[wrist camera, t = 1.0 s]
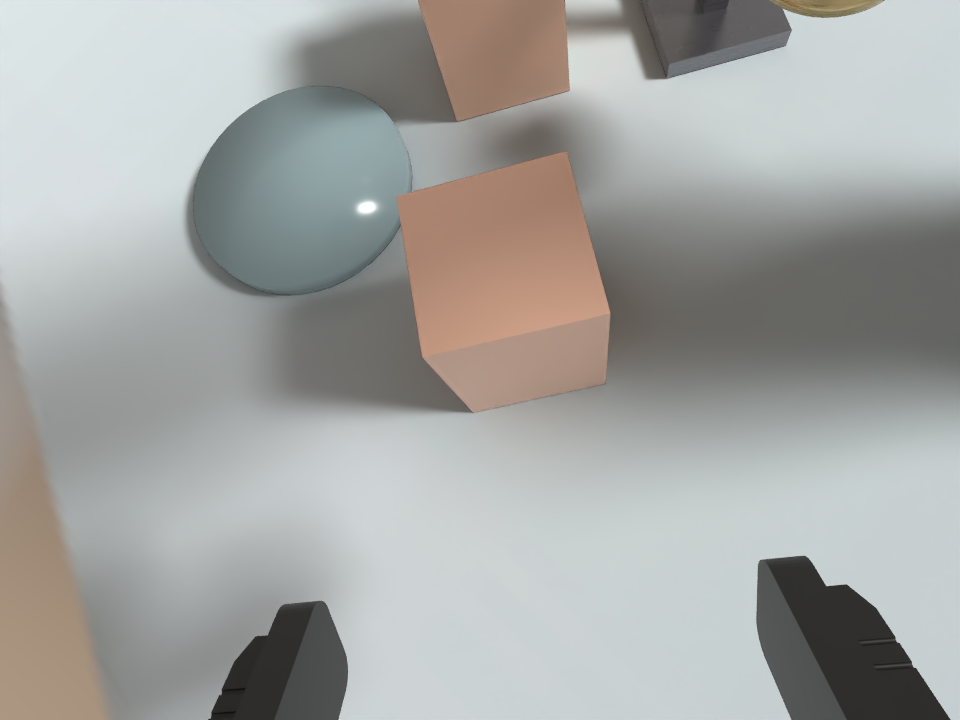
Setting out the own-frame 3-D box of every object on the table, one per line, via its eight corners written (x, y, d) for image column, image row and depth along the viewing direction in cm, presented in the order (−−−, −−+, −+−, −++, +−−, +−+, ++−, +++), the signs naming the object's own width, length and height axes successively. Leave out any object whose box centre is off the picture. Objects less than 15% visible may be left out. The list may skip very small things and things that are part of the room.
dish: (395, 76, 35) (389, 61, 34) (428, 263, 31) (421, 252, 30) (202, 132, 36) (189, 119, 35) (210, 318, 33) (197, 309, 31)
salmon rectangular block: (574, 262, 30) (566, 150, 21) (605, 383, 28) (610, 313, 19) (451, 292, 30) (396, 196, 22) (473, 412, 29) (422, 357, 20)
